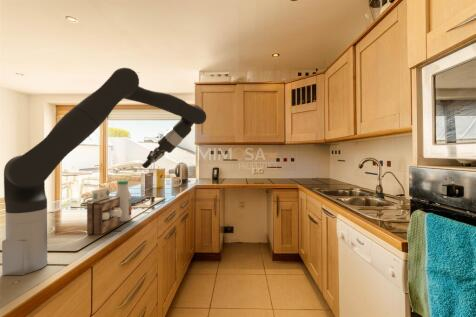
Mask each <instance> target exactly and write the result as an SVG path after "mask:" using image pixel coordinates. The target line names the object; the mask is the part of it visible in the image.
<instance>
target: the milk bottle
mask: <svg viewBox="0 0 476 317" xmlns="http://www.w3.org/2000/svg"><path fill="white" fill-rule="evenodd" d="M128 185H129V181H128V180H118V181H117V186H118V188H117V190H116V192H115V195H114V197H120V208H121V210H122V216H121V217H120V223H122V222H123V223H124V222H128V221H131V219H132V194H131V193H130V190H129V187H128Z"/></svg>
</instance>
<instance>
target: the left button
mask: <svg viewBox="0 0 476 317" xmlns="http://www.w3.org/2000/svg"><path fill="white" fill-rule="evenodd" d="M109 217H110V214H109V213H107V212H102V220H108V219H109Z"/></svg>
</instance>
